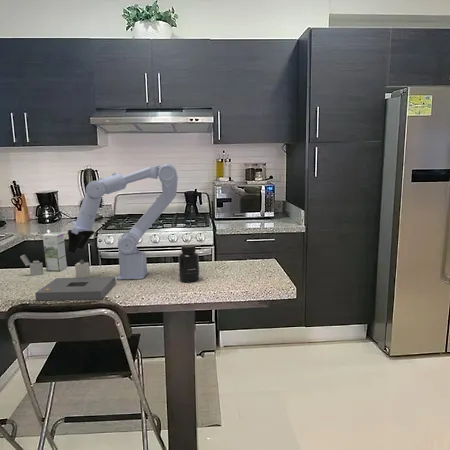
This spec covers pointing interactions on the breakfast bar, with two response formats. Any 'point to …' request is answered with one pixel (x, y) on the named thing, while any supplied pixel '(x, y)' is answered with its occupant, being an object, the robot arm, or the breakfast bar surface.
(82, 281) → the socket block
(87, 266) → the plug
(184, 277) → the supplement bottle
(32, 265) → the lighter
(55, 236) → the syrup box
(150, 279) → the breakfast bar surface
